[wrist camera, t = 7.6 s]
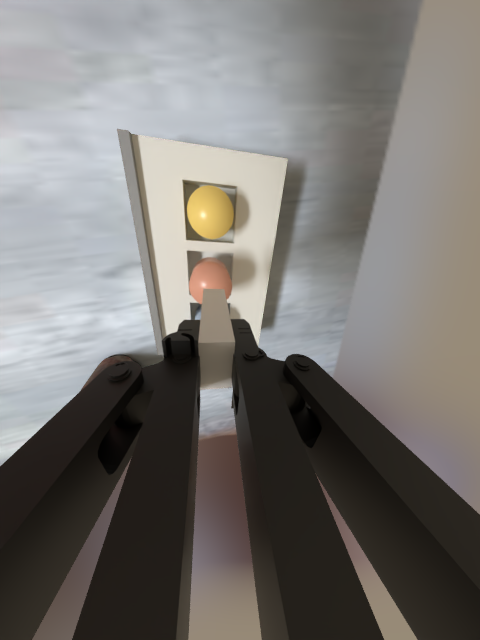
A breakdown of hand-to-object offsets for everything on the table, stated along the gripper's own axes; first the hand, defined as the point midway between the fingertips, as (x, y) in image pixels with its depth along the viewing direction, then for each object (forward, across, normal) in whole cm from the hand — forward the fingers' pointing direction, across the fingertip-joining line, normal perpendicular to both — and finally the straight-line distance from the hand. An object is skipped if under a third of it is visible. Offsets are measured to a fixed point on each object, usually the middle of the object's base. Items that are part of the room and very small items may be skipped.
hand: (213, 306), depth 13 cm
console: (+13, 0, 0) cm, 13 cm away
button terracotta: (+8, 0, 0) cm, 8 cm away
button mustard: (+10, 0, +6) cm, 12 cm away
